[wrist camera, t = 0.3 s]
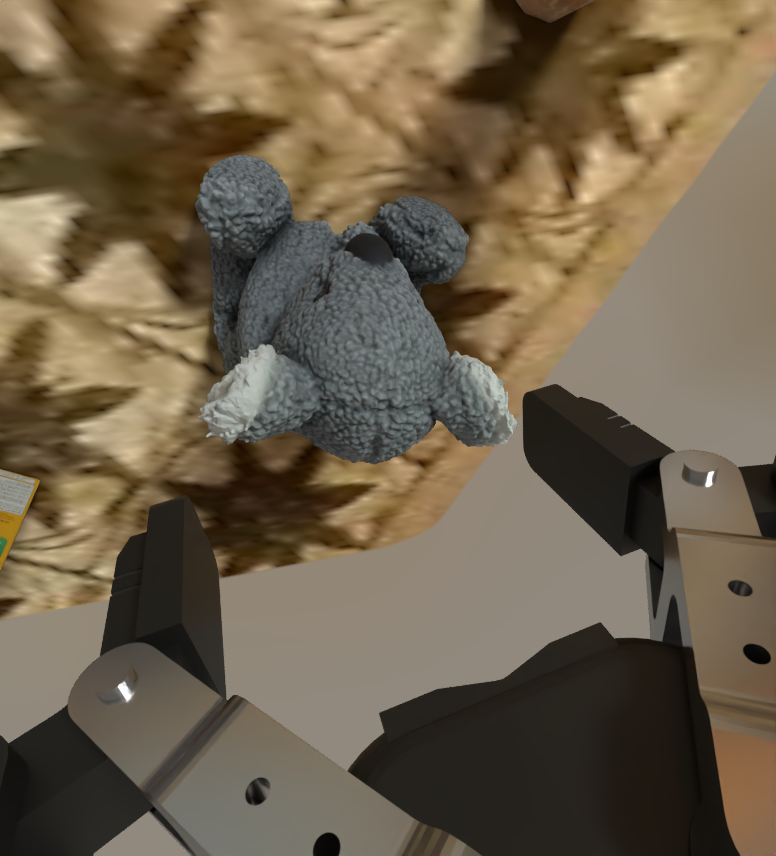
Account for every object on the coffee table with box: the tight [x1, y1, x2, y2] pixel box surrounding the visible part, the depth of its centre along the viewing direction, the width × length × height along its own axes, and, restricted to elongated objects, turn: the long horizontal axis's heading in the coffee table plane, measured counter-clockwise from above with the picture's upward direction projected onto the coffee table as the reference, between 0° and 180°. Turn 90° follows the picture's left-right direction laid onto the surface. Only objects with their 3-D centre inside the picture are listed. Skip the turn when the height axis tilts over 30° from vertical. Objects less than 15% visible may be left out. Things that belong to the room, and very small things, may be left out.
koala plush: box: [195, 155, 517, 464], centre depth 31 cm, size 17×18×20 cm
